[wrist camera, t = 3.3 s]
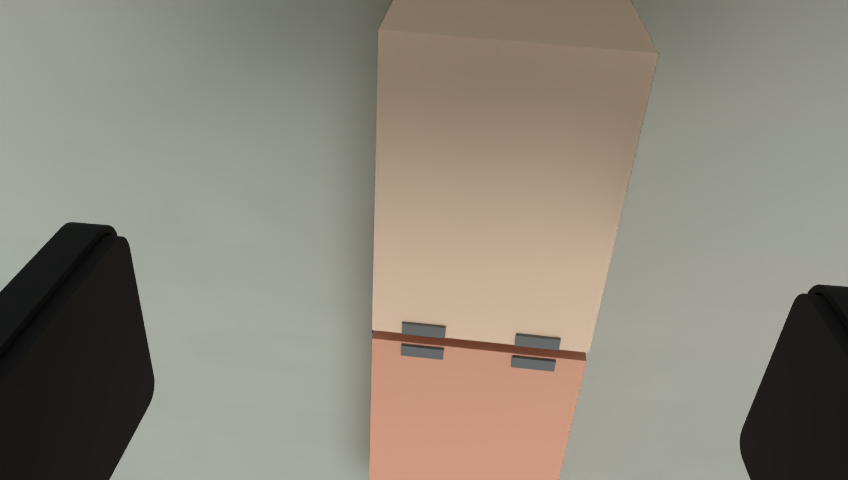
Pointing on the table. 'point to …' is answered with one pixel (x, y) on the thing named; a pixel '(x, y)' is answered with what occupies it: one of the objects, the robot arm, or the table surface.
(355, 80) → the table surface
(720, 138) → the table surface
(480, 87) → the beige boxy piece
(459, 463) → the cardboard box
